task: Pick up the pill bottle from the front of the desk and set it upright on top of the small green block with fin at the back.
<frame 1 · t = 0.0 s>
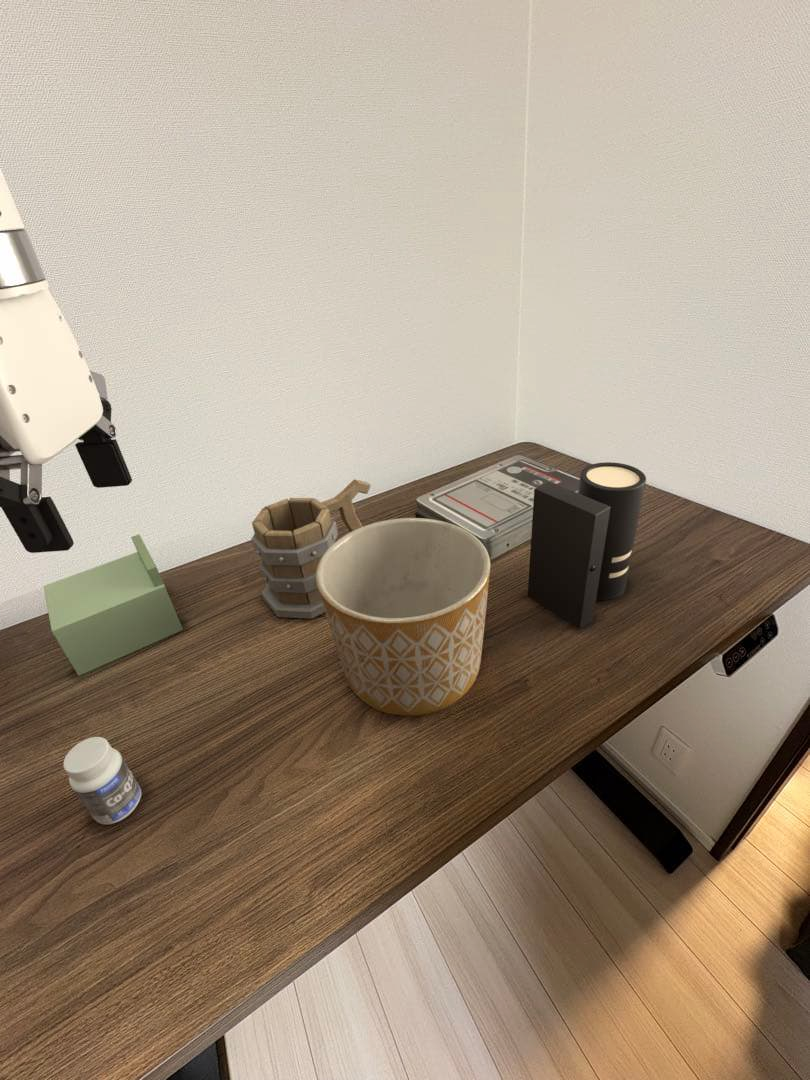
hand: (85, 514, 41), 32 cm above the table, tool pointing down, fingers open, 9 cm apart
light fixture: (583, 592, 77), on the table
green block with fin: (124, 629, 78), on the table
hard drive: (503, 513, 98), on the table
pill bottle: (119, 804, 55), on the table
planter: (412, 667, 68), on the table
tankard: (328, 582, 84), on the table
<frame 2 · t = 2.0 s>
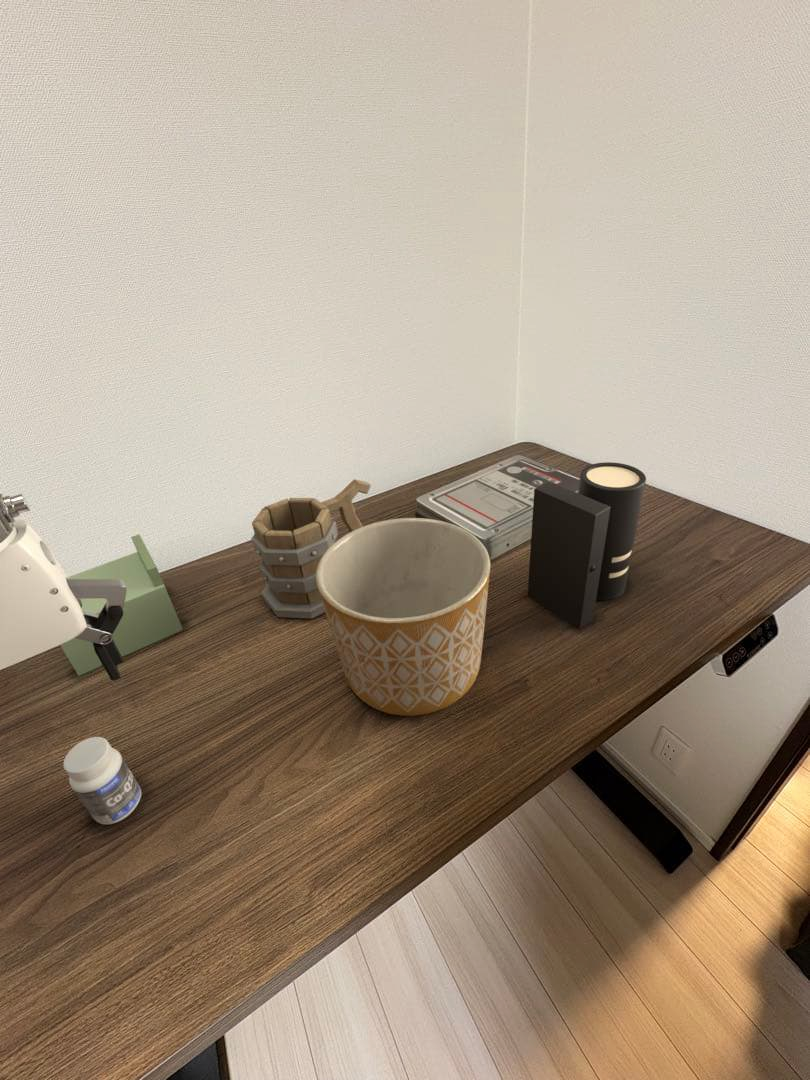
hand: (56, 697, 46), 16 cm above the table, tool pointing down, fingers open, 9 cm apart
nothing on the table moved.
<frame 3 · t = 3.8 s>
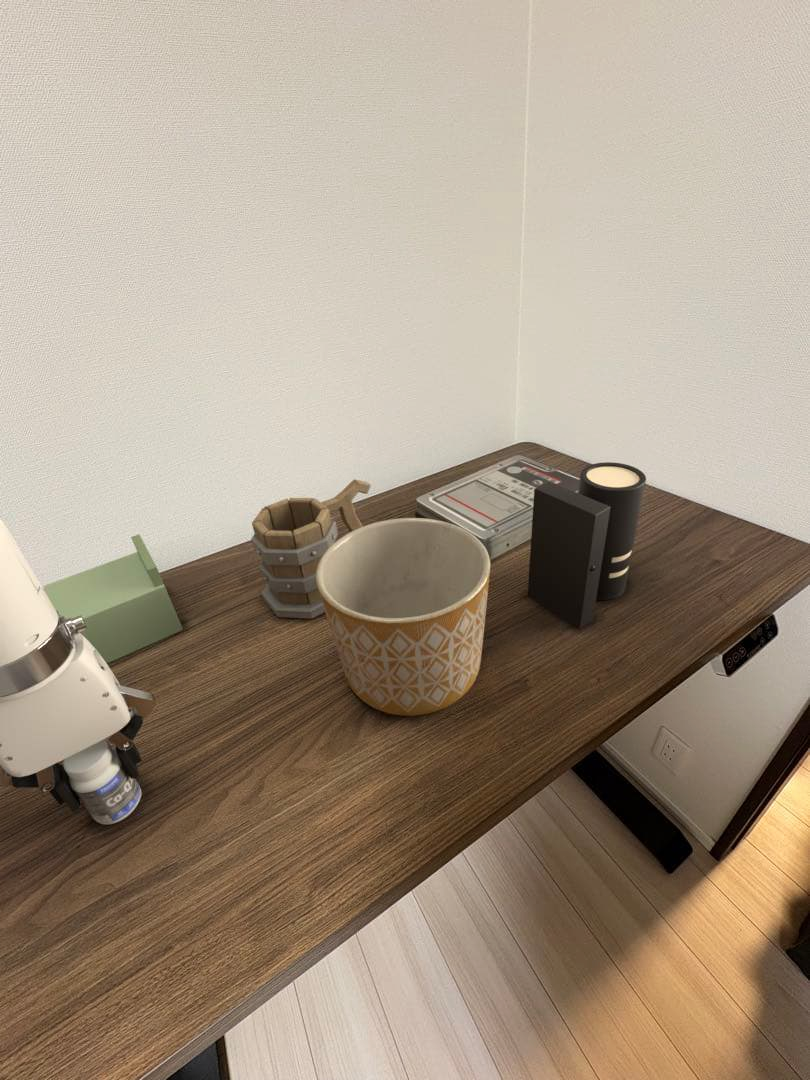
hand: (104, 782, 53), 4 cm above the table, tool pointing down, fingers closed on pill bottle, 4 cm apart
pill bottle: (119, 804, 55), on the table, touching gripper
everything else where it was.
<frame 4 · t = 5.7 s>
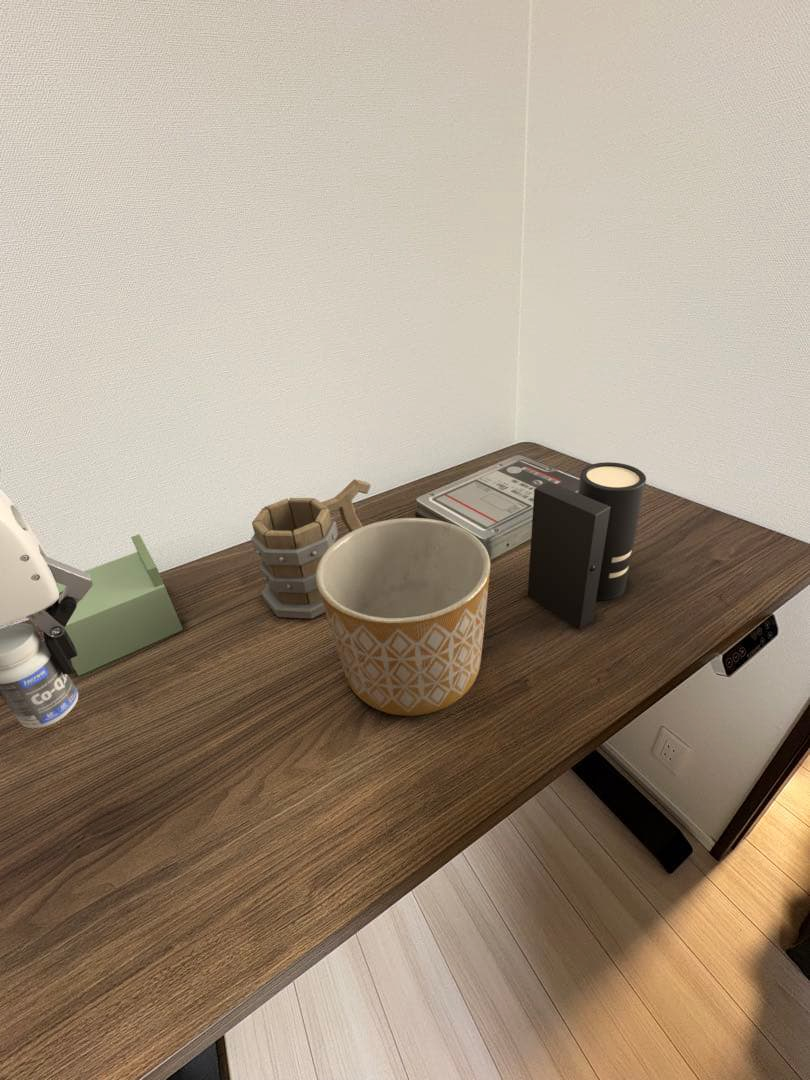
hand: (31, 678, 45), 19 cm above the table, tool pointing down, fingers closed on pill bottle, 4 cm apart
pill bottle: (51, 708, 47), point 15 cm above the table, touching gripper
everything else where it was.
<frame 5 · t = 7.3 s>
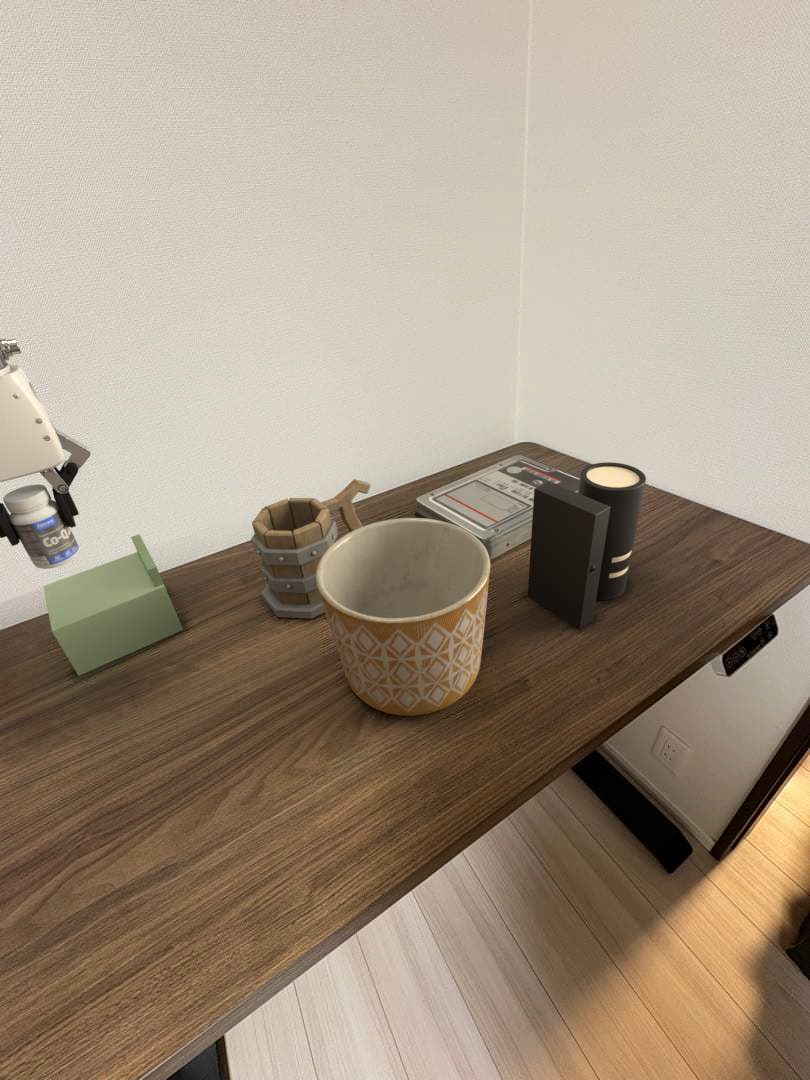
hand: (43, 529, 58), 23 cm above the table, tool pointing down, fingers closed on pill bottle, 4 cm apart
pill bottle: (59, 559, 60), point 19 cm above the table, touching gripper
everything else where it was.
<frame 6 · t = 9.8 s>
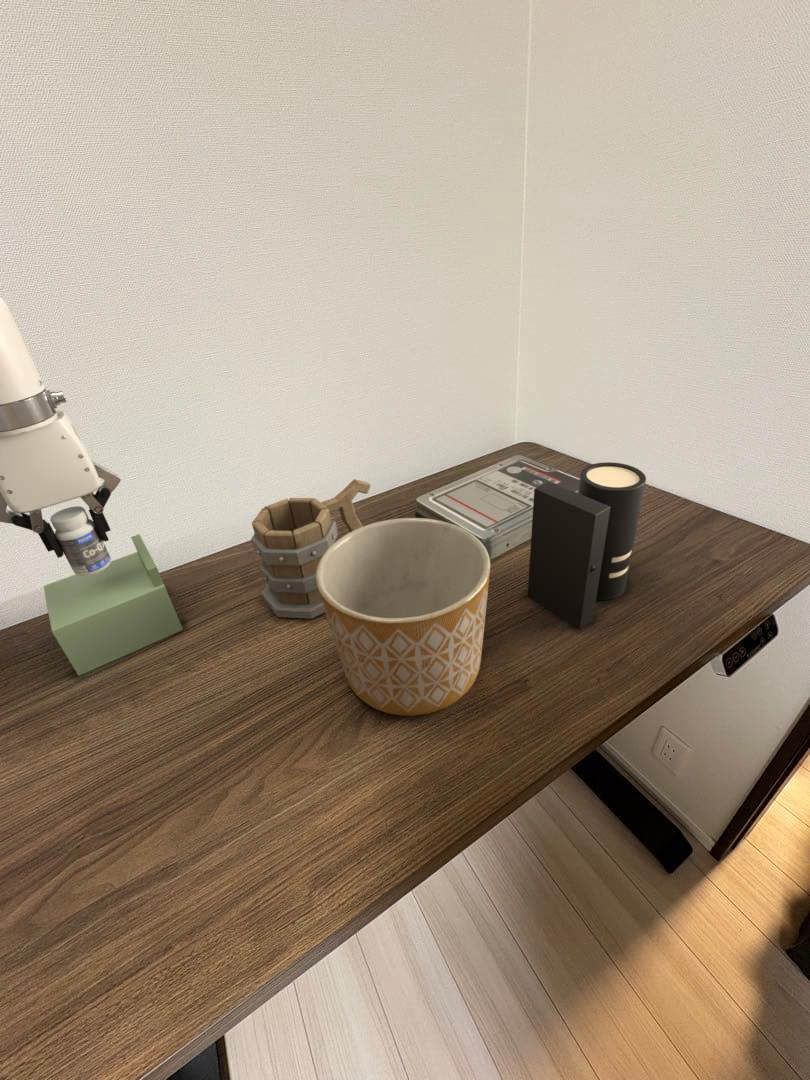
hand: (82, 543, 70), 15 cm above the table, tool pointing down, fingers closed on pill bottle, 4 cm apart
pill bottle: (94, 567, 72), point 11 cm above the table, touching gripper
everything else where it was.
when the fingers open (12 cm above the table, at t = 11.1 s): pill bottle stays where it is, resting on green block with fin.
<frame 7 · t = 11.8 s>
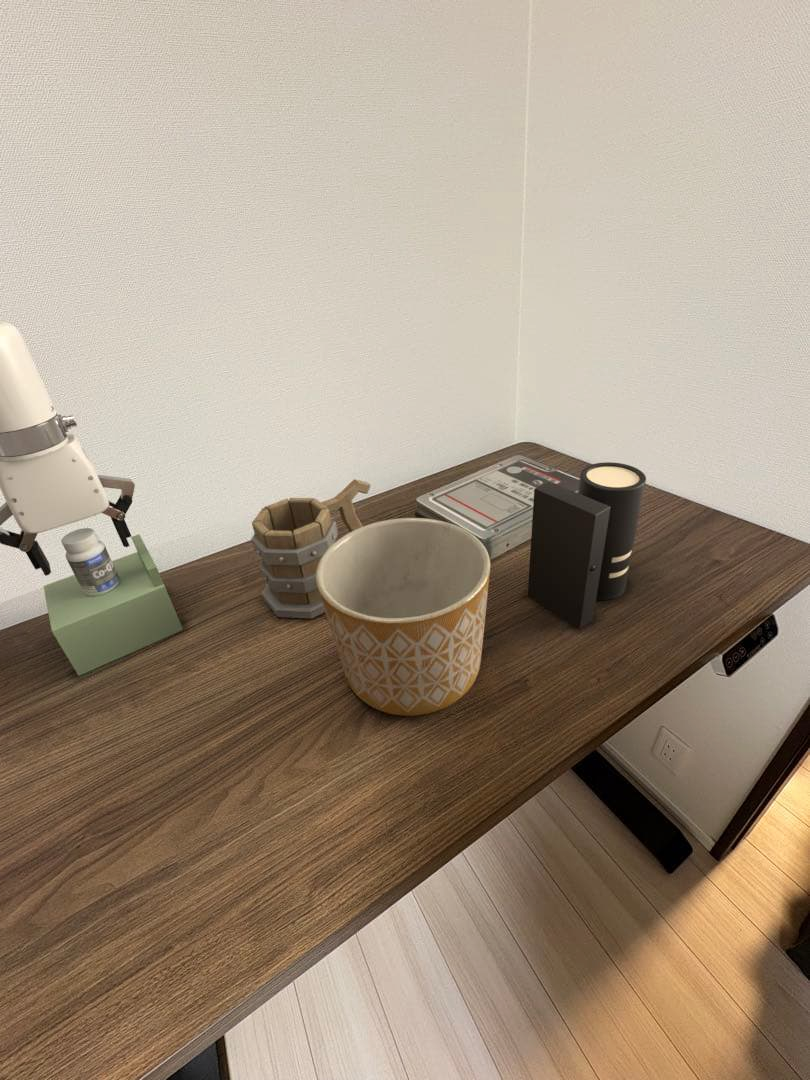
hand: (87, 556, 71), 13 cm above the table, tool pointing down, fingers open, 9 cm apart
pill bottle: (103, 587, 74), point 8 cm above the table, touching green block with fin
everything else where it was.
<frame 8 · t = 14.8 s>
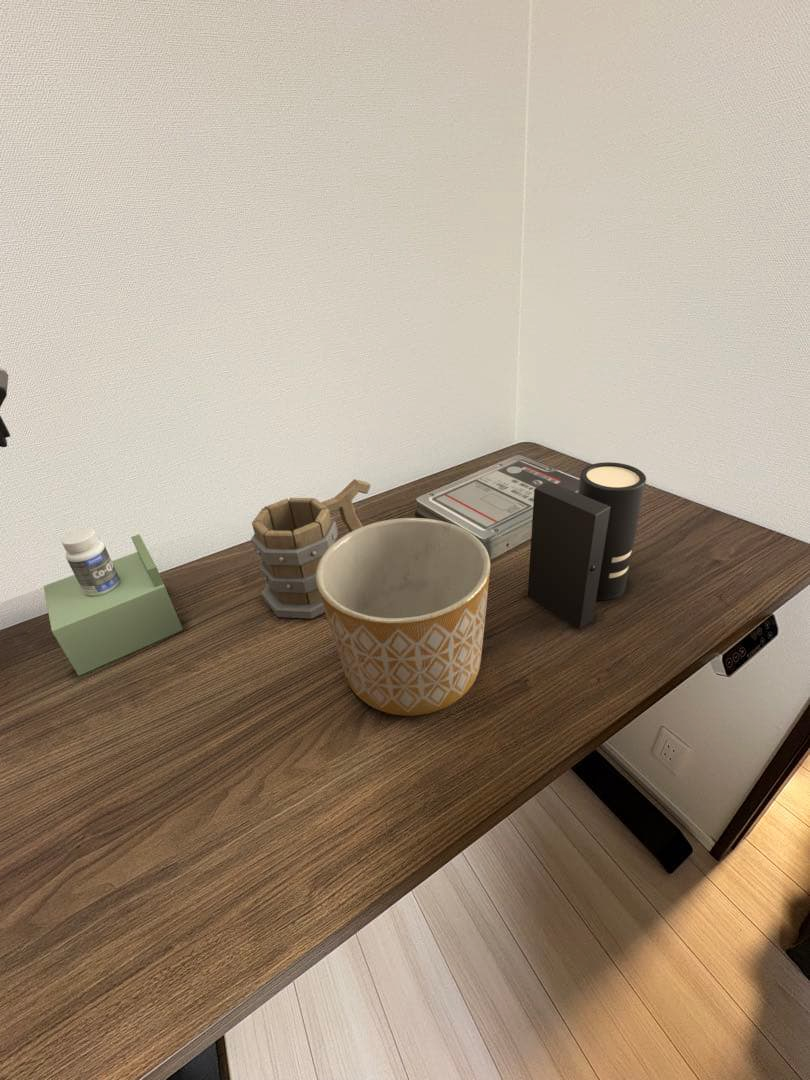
nothing on the table moved.
at the end: pill bottle inside the target area on the green block with fin (0.0 cm from its centre), point 8.0 cm above the green block with fin's base; pill bottle tilted 0°; the gripper is holding nothing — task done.
